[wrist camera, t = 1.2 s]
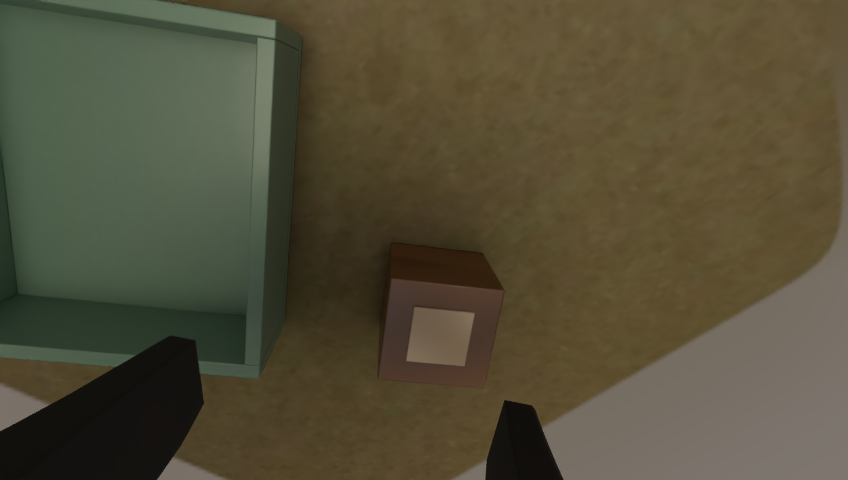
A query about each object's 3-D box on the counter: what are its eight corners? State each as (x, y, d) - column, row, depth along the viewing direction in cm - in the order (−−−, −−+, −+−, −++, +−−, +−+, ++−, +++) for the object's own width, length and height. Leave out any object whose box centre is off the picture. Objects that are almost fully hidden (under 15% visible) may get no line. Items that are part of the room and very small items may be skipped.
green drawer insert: (284, 324, 23) (259, 379, 18) (15, 299, 22) (-81, 351, 17) (302, 36, 19) (276, 19, 15) (-22, -16, 18) (-158, -53, 13)
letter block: (467, 335, 24) (484, 390, 19) (379, 327, 23) (376, 381, 19) (483, 253, 22) (505, 291, 18) (390, 242, 22) (390, 279, 18)
